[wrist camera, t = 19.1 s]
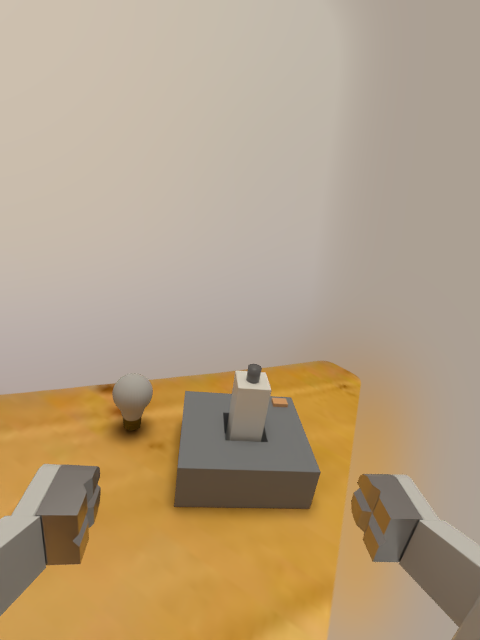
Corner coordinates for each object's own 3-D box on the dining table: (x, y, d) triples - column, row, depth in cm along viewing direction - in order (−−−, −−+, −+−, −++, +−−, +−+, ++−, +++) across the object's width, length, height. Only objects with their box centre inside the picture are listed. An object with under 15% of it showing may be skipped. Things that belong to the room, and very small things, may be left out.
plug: (227, 459, 48) (240, 374, 42) (225, 437, 52) (237, 358, 47) (257, 460, 48) (273, 377, 43) (253, 438, 52) (267, 360, 47)
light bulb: (158, 427, 55) (161, 376, 52) (130, 447, 50) (131, 392, 47) (133, 412, 58) (134, 362, 54) (104, 430, 53) (103, 376, 49)
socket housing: (174, 506, 42) (177, 464, 40) (182, 423, 57) (185, 388, 54) (309, 508, 45) (321, 468, 42) (284, 428, 59) (291, 394, 57)
